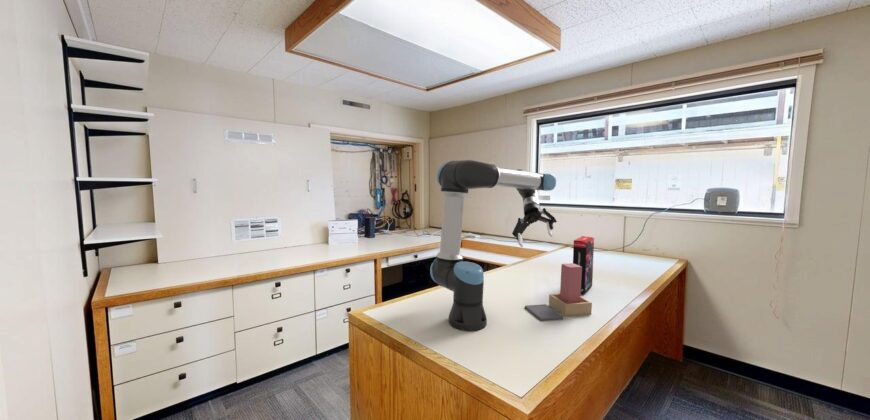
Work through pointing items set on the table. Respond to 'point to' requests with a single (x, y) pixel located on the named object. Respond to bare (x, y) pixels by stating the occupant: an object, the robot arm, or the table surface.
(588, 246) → the graphics card box
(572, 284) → the pink rectangular block
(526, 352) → the table surface
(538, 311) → the rubber mat
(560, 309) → the hollow rectangular frame
